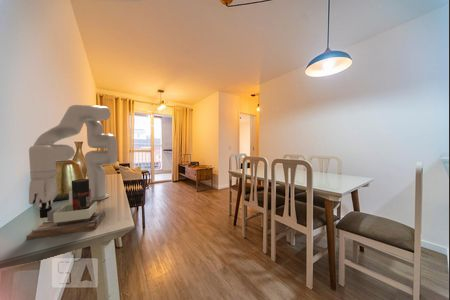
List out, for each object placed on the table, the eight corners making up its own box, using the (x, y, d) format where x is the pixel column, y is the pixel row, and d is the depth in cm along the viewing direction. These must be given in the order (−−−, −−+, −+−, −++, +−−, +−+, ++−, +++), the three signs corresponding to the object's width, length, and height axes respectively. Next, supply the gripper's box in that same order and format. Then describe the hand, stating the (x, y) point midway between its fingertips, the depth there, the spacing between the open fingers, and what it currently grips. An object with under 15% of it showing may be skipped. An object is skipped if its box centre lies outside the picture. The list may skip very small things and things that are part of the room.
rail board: (48, 222, 77) (48, 215, 77) (105, 215, 85) (104, 208, 85) (26, 239, 64) (25, 231, 64) (95, 229, 72) (95, 221, 72)
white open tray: (57, 218, 77) (57, 205, 76) (97, 213, 82) (96, 201, 82) (44, 229, 68) (43, 214, 67) (89, 222, 73) (89, 209, 73)
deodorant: (76, 211, 78) (75, 179, 77) (92, 209, 80) (91, 178, 79) (70, 216, 72) (68, 182, 71) (87, 214, 74) (85, 181, 74)
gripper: (43, 172, 76) (45, 211, 77) (17, 179, 62) (20, 227, 63) (64, 171, 79) (66, 208, 80) (44, 177, 65) (46, 223, 66)
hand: (46, 216), depth 71 cm, fingers closed
